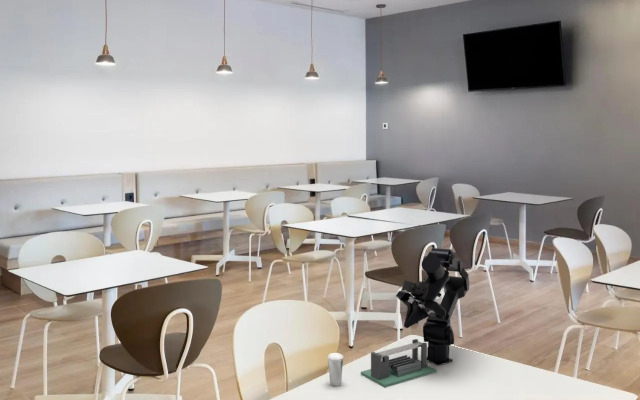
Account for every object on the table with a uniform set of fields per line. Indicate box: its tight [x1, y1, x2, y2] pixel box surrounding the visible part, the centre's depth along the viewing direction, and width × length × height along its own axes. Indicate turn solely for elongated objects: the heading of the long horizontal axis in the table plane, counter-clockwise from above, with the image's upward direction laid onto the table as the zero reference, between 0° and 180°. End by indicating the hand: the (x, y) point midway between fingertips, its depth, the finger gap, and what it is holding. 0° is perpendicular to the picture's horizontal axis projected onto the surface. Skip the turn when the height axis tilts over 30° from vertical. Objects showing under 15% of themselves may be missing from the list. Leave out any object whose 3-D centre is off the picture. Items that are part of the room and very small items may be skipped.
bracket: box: [411, 338, 429, 369], centre depth 189 cm, size 2×5×8 cm, turn 33°
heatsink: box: [389, 354, 421, 377], centre depth 185 cm, size 9×7×3 cm
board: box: [360, 357, 438, 388], centre depth 185 cm, size 20×12×1 cm, turn 123°
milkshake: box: [327, 351, 347, 387], centre depth 177 cm, size 4×5×10 cm
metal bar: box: [376, 340, 423, 362], centre depth 184 cm, size 17×2×2 cm, turn 123°
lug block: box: [370, 351, 390, 380], centre depth 180 cm, size 4×4×7 cm
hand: (405, 327), depth 185 cm, fingers closed
